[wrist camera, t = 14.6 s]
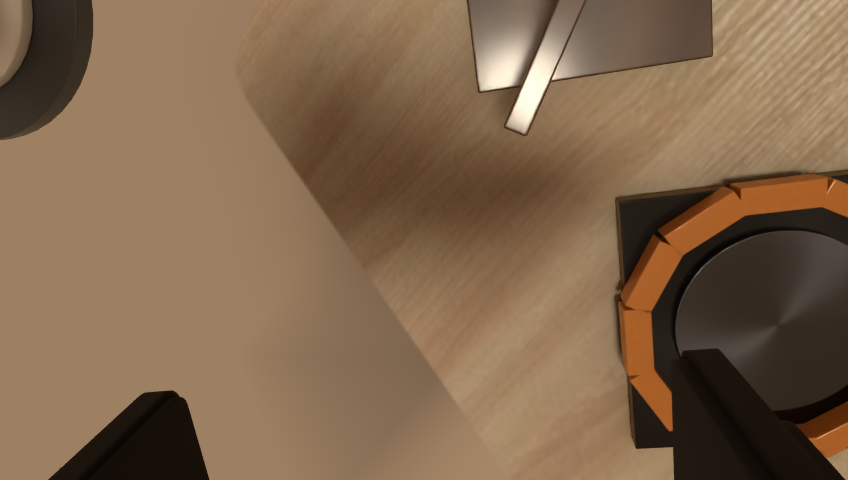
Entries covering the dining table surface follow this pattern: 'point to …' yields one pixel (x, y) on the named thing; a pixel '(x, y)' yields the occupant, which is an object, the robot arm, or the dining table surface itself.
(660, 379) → the ring
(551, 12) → the hanger stand
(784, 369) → the hob
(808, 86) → the dining table surface
